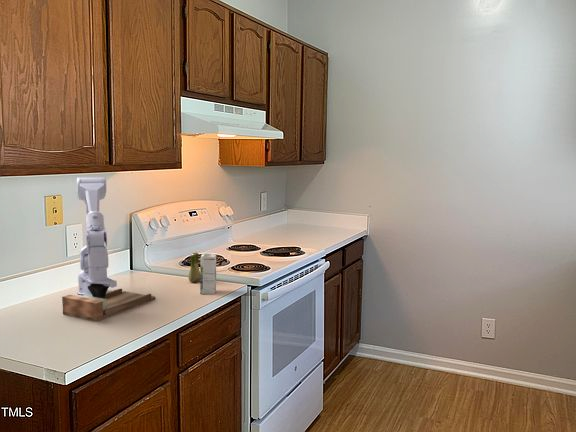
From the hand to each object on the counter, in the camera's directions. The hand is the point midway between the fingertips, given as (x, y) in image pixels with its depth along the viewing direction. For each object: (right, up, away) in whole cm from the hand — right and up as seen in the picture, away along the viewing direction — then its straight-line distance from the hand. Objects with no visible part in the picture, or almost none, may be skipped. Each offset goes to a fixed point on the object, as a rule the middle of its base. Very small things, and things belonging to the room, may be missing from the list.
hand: (99, 305), depth 182 cm
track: (+2, -1, +5) cm, 6 cm away
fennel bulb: (+25, +3, +39) cm, 47 cm away
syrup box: (+33, +1, +24) cm, 41 cm away
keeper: (-2, -1, -3) cm, 4 cm away
